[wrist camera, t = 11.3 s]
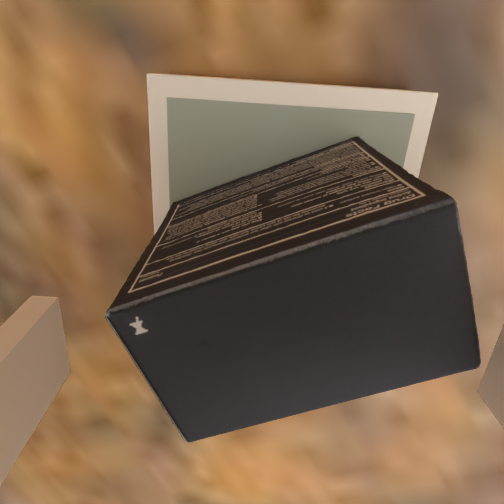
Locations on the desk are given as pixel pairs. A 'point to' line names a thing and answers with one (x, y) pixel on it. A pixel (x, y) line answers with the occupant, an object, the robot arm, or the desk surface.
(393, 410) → the desk surface
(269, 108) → the base
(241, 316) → the small box
